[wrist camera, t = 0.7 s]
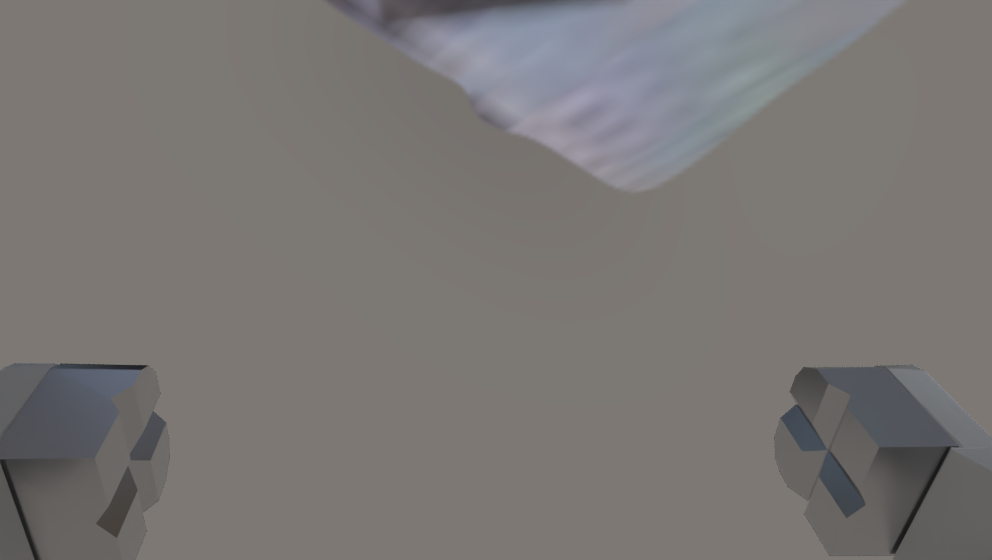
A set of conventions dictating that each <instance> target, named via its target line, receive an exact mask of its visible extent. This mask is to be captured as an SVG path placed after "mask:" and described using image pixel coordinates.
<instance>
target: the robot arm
mask: <svg viewBox="0 0 992 560" xmlns="http://www.w3.org/2000/svg"><path fill="white" fill-rule="evenodd" d="M790 393H791V395H792V397H793V399H794V402H795V404H796V405H795V406H794V407H792V408H791V409H790V410H789V411H788V412H786V413H785V414H784V415H783V416H782V417H781V418H780V421H779V424H778V427H777V430H776V434H775V437H774V440H775V459H776V462H777V465H778V468H779V472H780V474H781V475H782V477H783V479H784V481H785V483H786V484H787V486H788V487H789V488H790V489H791V490H793V491H794V492H796V493H797V494H799V495H800V496H802V497H803V498H805V499H806V500H807V504H806V508H805V513H804V515H805V516H806V518H807V520H808V521H809V523H810V524H811V526H812V528H813V530H814V531H815V533H816V534H817V536H818V538H819V539H820V541H821V543H822V544H823V546H824V548H825V549H826V551H827V553H828V554H829V556H894V557H893V559H894V560H992V437H991V436H990V435H989V434H988V433H987V432H986V431H984V429H983V428H982V427H980V425H979V424H978V423H977V422H976V421H975V420H974V419H973V418H972V417H971V416H970V415H968V413H967V412H966V411H965V410H964V409H963V408H962V407H961V406H959V404H958V403H957V402H956V401H955V400H953V398H952V397H951V396H949V394H948V393H946V391H945V390H944V389H943V388H942V387H941V386H939V385H938V383H937V382H936V381H934V379H932V377H931V376H930V375H928V373H927V372H926V371H924V370H923V369H920V368H918V367H916V366H914V365H880V366H874V367H803V368H802V370H801V371H800V372H799V373H798V374H797V375H796V377H795V379H794V382H793V384H792V387H791V390H790ZM160 394H161V393H160V388H159V385H158V380H157V376H156V372H155V371H154V370H153V369H152V368H151V367H150V366H147V365H104V364H102V365H100V364H59V365H58V364H34V363H33V364H32V363H30V364H29V363H14V364H12V365H9V366H7V367H4V368H3V369H2V370H1V371H0V560H136V557H137V555H138V552H139V550H140V547H141V545H142V542H143V540H144V537H145V535H146V532H147V530H146V525H145V520H144V516H143V512H145V511H146V510H147V509H148V508H150V507H151V506H152V505H154V504H155V503H156V502H158V501H159V498H160V496H161V493H162V490H163V487H164V485H165V482H166V477H167V470H168V464H169V458H170V454H169V435H168V430H167V424H166V422H165V421H164V420H163V419H162V418H161V417H159V416H158V415H157V414H156V413H155V412H154V411H153V409H154V407H155V405H156V403H157V401H158V398H159V396H160Z"/></svg>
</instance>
